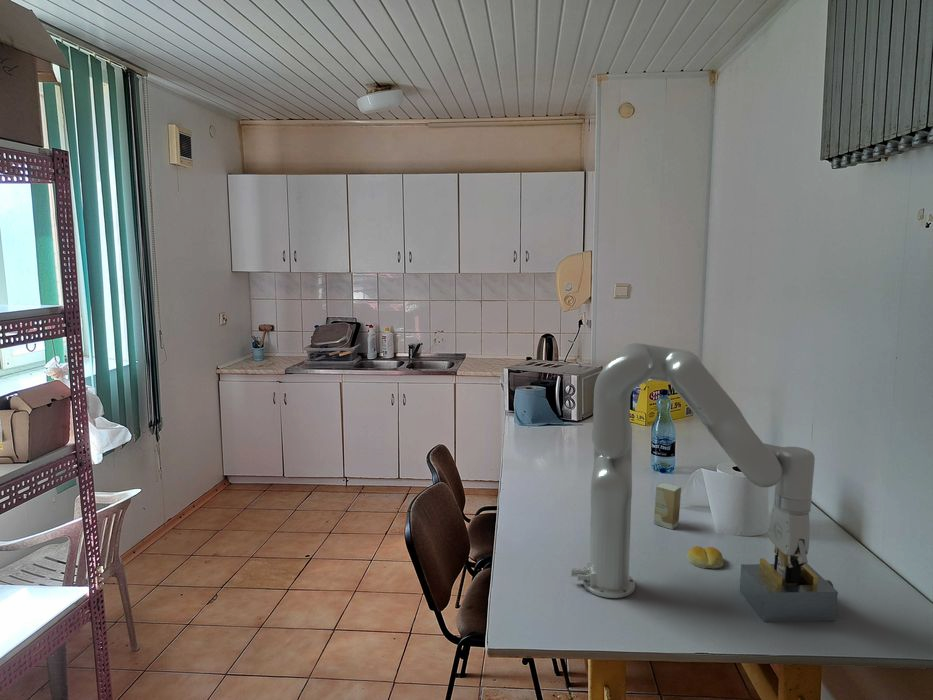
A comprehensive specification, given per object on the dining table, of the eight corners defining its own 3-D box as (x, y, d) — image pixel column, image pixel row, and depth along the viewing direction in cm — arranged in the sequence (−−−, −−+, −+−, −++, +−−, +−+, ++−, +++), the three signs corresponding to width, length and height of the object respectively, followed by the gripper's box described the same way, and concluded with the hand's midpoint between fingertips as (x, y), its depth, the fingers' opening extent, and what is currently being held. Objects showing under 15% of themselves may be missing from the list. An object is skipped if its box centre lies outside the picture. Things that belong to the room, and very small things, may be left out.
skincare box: (653, 524, 198) (654, 485, 196) (659, 519, 201) (661, 481, 199) (673, 530, 193) (674, 490, 191) (679, 525, 197) (681, 486, 195)
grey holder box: (763, 621, 146) (766, 582, 145) (739, 591, 159) (741, 554, 158) (844, 620, 146) (847, 581, 145) (813, 590, 159) (816, 553, 158)
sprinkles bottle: (771, 585, 154) (775, 531, 152) (789, 584, 155) (793, 530, 153) (782, 595, 150) (786, 540, 148) (801, 594, 150) (805, 539, 148)
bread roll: (685, 553, 179) (686, 540, 179) (720, 557, 177) (721, 543, 176) (688, 568, 171) (689, 553, 171) (724, 571, 169) (725, 557, 169)
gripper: (759, 488, 157) (754, 559, 160) (794, 517, 140) (788, 596, 143) (790, 488, 157) (785, 559, 160) (829, 517, 140) (822, 596, 143)
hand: (786, 575), depth 152 cm, fingers open, 4 cm apart
